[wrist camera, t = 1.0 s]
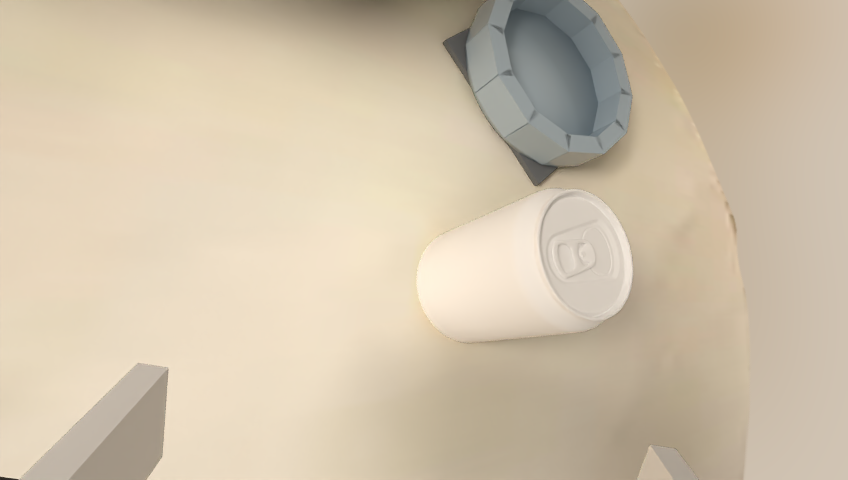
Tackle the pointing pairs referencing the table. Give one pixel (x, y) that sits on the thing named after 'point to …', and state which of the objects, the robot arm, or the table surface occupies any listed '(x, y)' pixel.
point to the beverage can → (528, 270)
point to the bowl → (549, 79)
